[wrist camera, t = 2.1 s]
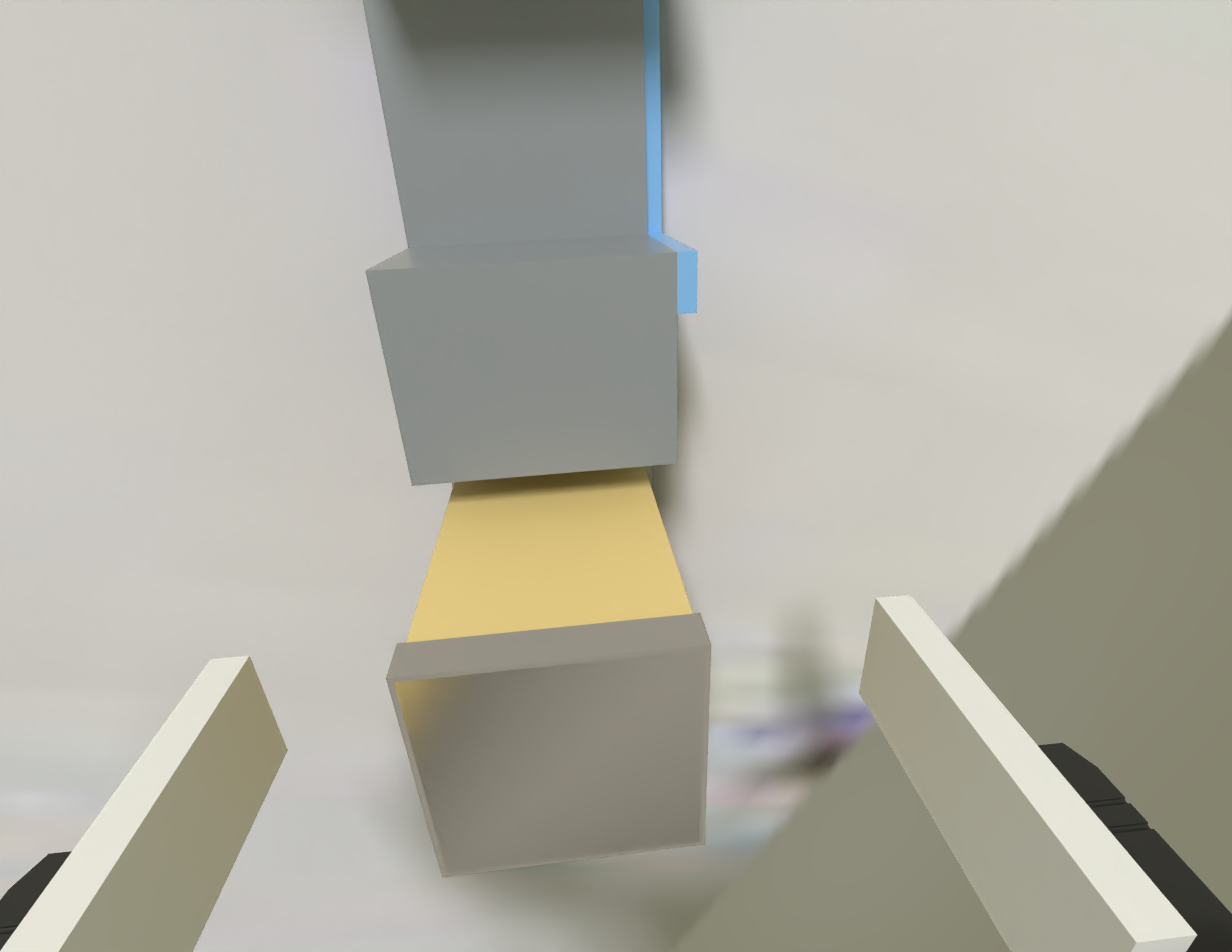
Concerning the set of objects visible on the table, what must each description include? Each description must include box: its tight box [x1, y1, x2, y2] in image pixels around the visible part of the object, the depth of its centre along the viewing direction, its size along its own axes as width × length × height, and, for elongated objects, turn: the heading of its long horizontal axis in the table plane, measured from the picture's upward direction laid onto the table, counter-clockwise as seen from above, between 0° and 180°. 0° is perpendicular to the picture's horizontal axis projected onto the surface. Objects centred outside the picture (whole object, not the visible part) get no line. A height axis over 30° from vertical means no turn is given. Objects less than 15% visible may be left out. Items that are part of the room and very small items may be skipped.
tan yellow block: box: [386, 466, 711, 878], centre depth 15 cm, size 5×5×9 cm
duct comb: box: [363, 0, 697, 491], centre depth 15 cm, size 6×24×5 cm, turn 3°
